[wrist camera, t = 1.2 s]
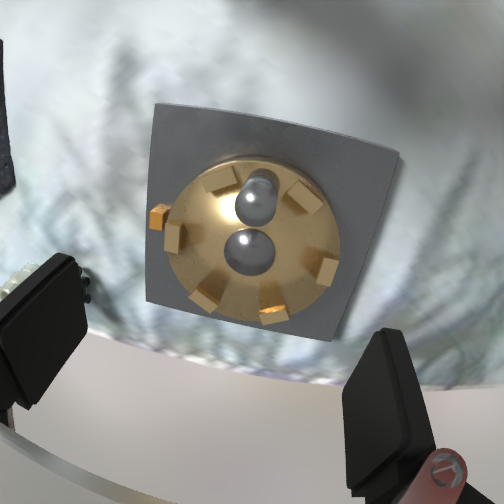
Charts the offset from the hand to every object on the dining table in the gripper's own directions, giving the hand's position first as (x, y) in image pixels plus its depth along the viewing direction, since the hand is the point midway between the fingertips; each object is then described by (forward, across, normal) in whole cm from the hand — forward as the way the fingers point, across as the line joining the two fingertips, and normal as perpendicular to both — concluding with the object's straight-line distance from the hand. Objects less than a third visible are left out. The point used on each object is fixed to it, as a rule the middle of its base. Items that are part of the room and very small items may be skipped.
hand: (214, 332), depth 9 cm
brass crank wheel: (+18, 0, +5) cm, 19 cm away
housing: (+20, 0, +5) cm, 20 cm away
